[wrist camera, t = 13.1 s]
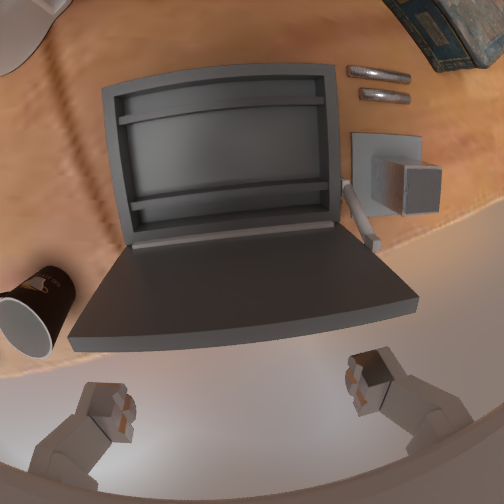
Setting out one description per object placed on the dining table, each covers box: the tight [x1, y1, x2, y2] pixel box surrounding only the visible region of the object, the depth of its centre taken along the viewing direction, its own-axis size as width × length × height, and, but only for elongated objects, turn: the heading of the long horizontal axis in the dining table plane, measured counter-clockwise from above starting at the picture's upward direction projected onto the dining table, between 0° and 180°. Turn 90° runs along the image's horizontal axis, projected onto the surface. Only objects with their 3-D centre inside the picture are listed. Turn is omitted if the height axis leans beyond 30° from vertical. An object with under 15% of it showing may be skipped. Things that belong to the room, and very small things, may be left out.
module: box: [371, 157, 442, 216], centre depth 28 cm, size 5×5×7 cm
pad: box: [351, 133, 422, 218], centre depth 32 cm, size 10×10×1 cm
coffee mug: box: [0, 266, 75, 360], centre depth 28 cm, size 12×9×10 cm
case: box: [67, 63, 419, 352], centre depth 21 cm, size 17×23×18 cm
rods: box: [346, 65, 411, 105], centre depth 27 cm, size 4×8×1 cm, turn 95°
